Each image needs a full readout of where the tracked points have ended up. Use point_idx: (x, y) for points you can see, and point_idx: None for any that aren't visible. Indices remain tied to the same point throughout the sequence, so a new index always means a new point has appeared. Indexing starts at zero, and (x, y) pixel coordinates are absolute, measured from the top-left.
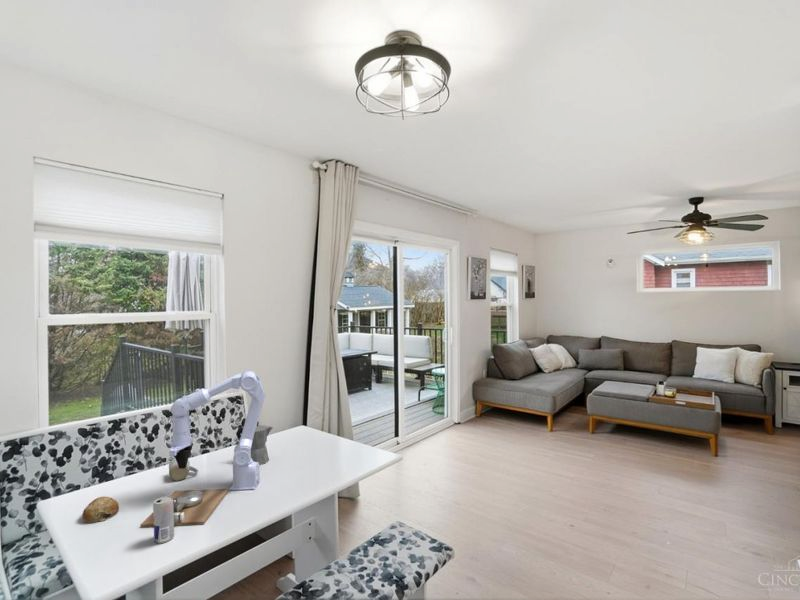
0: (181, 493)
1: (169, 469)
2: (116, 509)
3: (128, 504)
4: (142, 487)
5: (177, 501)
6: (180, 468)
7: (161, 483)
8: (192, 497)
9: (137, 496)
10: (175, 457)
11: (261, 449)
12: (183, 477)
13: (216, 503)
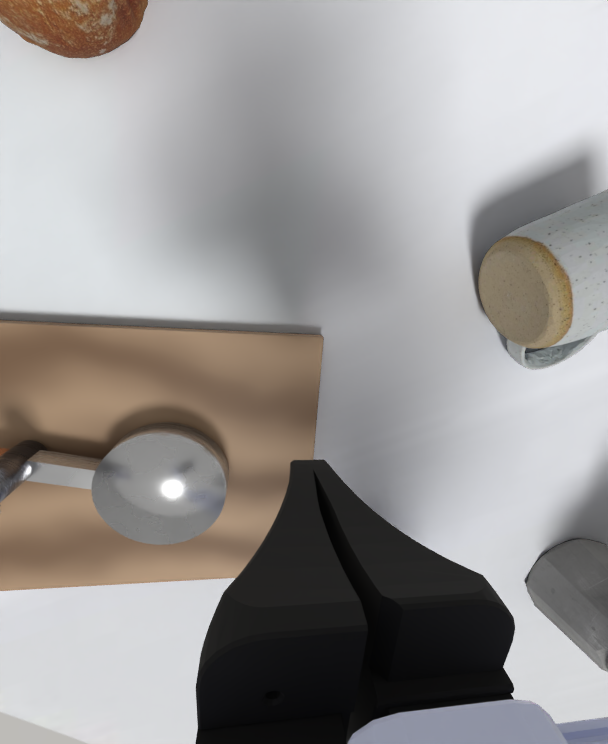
0: (283, 386)
1: (560, 219)
2: (44, 39)
3: (213, 83)
4: (456, 66)
5: (125, 440)
6: (290, 472)
7: (478, 187)
8: (146, 510)
9: (323, 96)
10: (261, 551)
11: (601, 665)
12: (489, 315)
13: (159, 578)
